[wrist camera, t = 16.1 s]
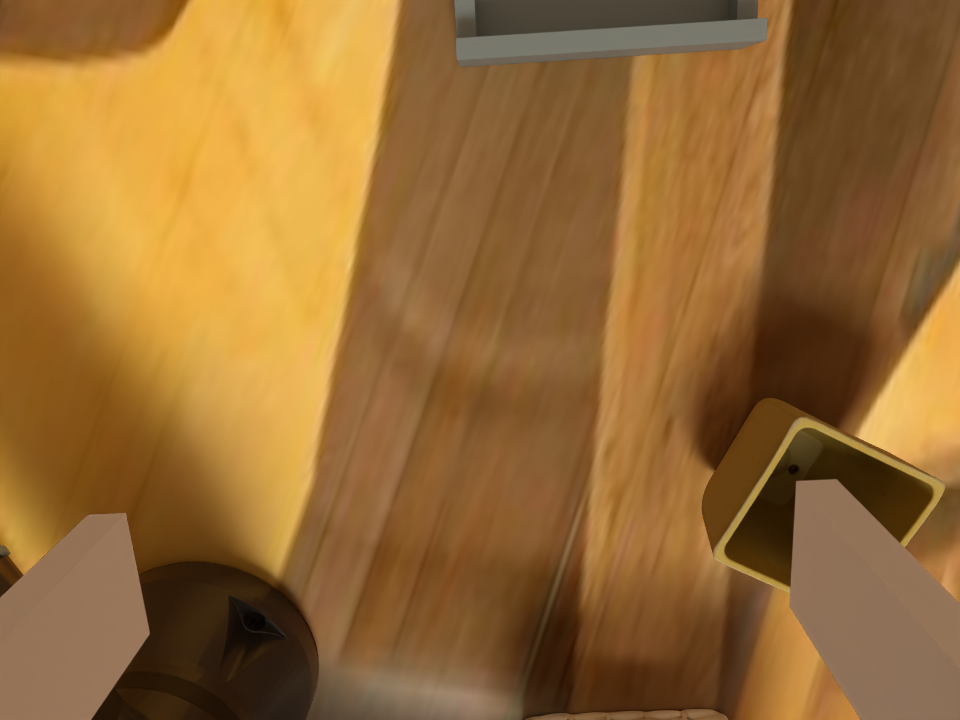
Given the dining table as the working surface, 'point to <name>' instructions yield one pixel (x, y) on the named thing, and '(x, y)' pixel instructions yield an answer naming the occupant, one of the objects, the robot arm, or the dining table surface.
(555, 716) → the storage basket
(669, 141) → the dining table surface
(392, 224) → the dining table surface
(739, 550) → the flower pot
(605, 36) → the gray drawer tray
